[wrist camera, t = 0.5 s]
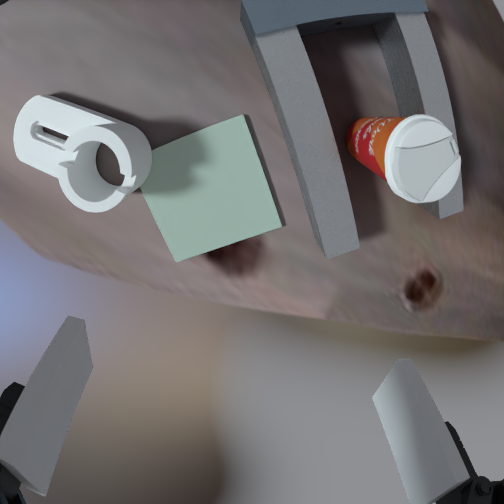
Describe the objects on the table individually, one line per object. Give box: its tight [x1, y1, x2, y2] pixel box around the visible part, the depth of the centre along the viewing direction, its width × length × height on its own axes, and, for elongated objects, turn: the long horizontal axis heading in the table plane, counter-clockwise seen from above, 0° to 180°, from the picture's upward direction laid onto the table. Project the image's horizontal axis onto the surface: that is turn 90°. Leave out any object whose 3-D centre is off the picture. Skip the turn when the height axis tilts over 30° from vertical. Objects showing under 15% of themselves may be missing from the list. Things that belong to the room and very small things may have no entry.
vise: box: [240, 0, 463, 259], centre depth 26 cm, size 37×19×7 cm, turn 19°
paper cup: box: [346, 114, 461, 203], centre depth 27 cm, size 8×8×14 cm
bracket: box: [14, 95, 152, 212], centre depth 28 cm, size 20×9×7 cm, turn 63°
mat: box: [140, 115, 282, 262], centre depth 35 cm, size 14×14×1 cm
